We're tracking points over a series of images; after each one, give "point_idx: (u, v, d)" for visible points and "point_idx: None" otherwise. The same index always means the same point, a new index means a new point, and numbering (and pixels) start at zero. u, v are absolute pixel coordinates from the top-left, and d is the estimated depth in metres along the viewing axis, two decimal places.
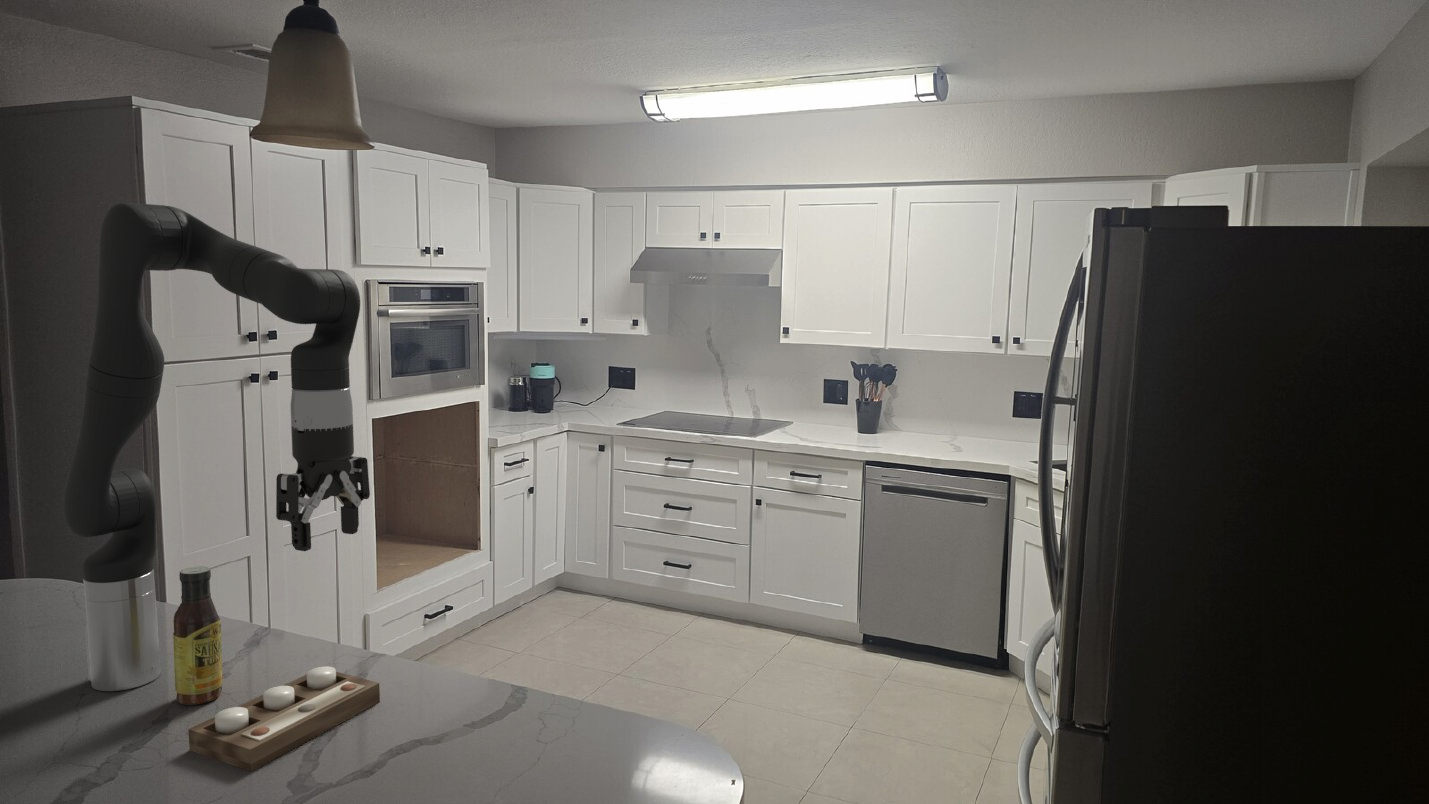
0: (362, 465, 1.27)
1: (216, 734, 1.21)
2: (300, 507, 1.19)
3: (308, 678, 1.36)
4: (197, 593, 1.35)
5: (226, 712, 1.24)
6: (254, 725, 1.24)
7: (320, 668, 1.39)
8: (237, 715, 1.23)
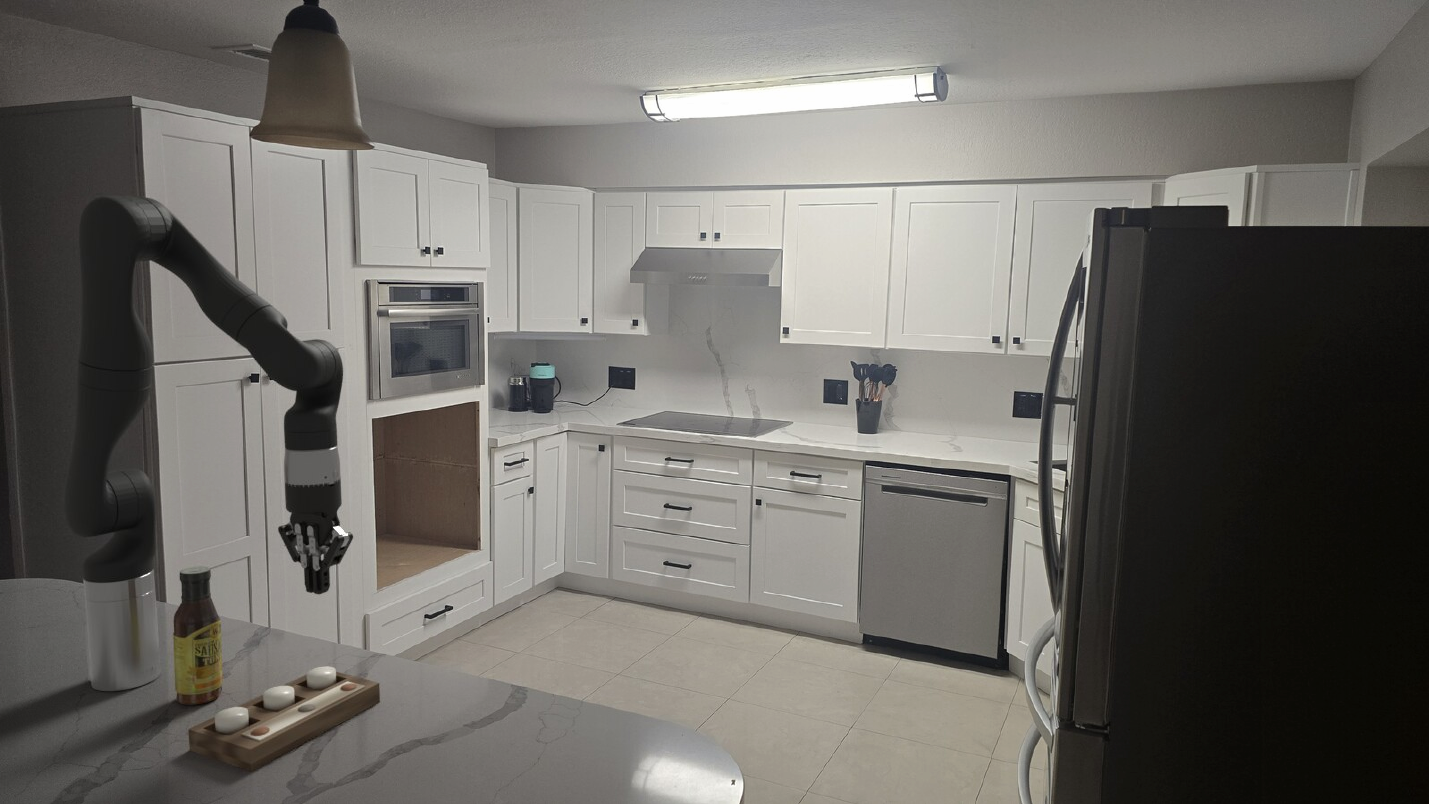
0: None
1: (216, 734, 1.21)
2: None
3: (308, 678, 1.36)
4: (197, 593, 1.35)
5: (226, 712, 1.24)
6: (254, 725, 1.24)
7: (320, 668, 1.39)
8: (237, 715, 1.23)
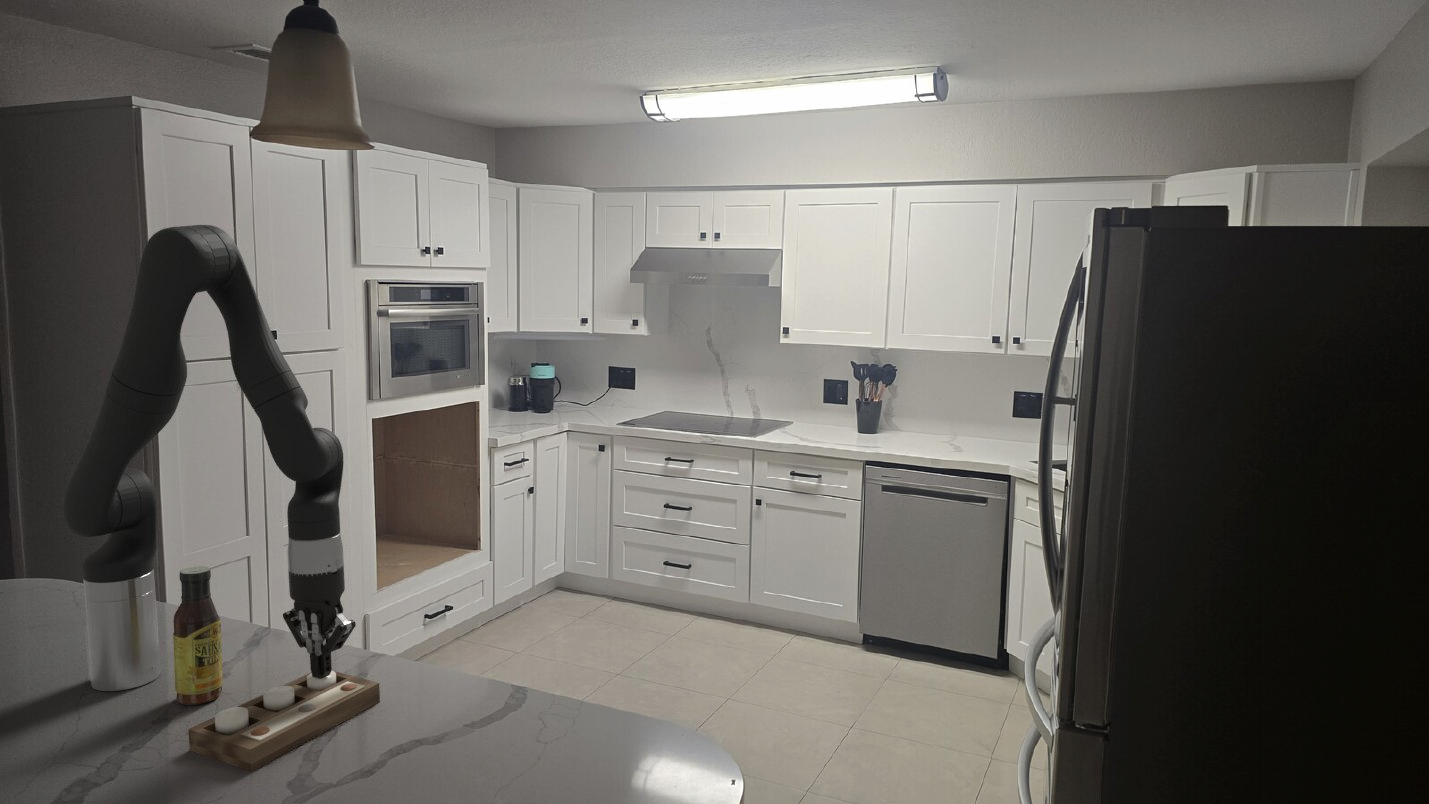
0: None
1: (216, 734, 1.21)
2: None
3: (308, 682, 1.36)
4: (197, 593, 1.35)
5: (226, 712, 1.24)
6: (254, 725, 1.24)
7: None
8: (237, 715, 1.23)
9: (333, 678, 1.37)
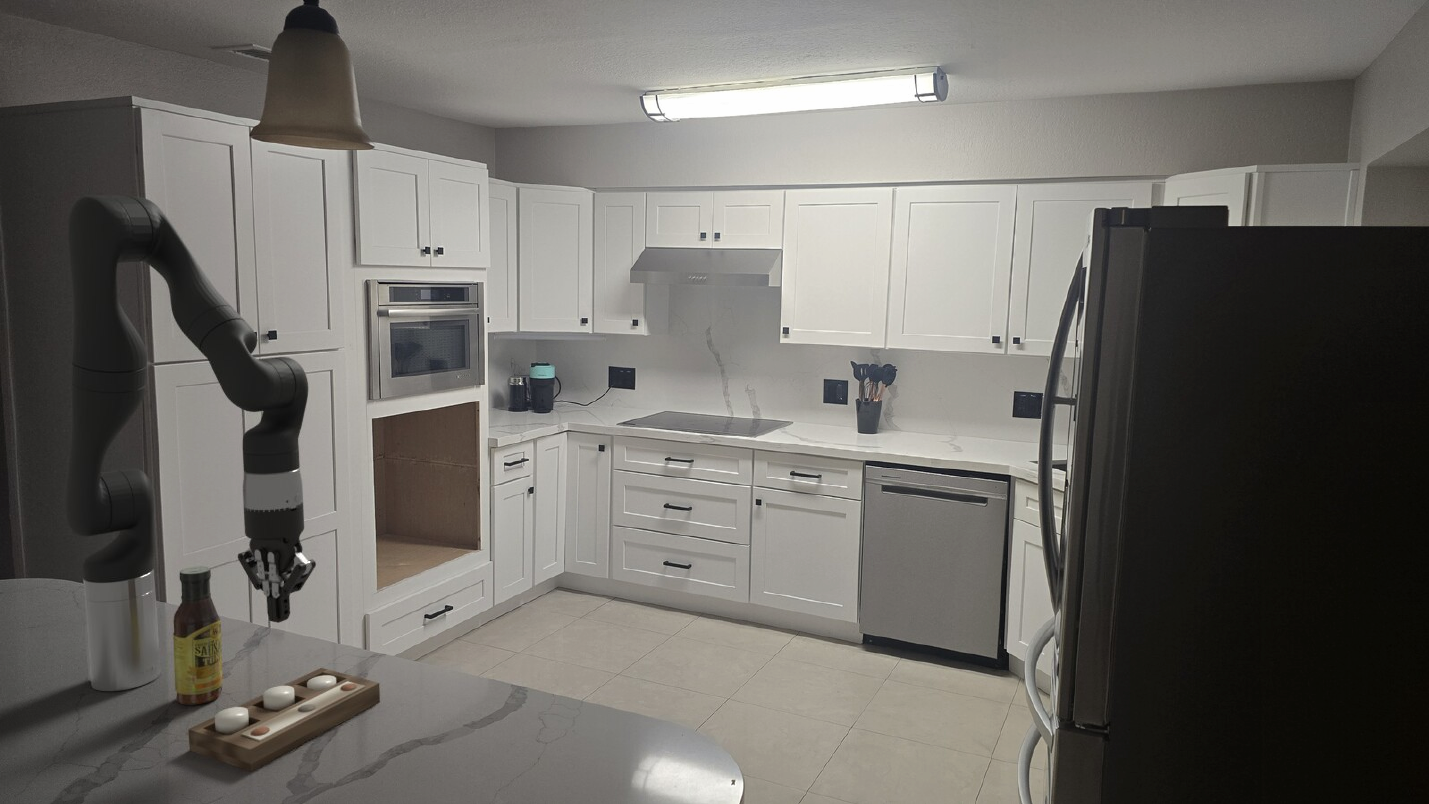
0: None
1: (216, 734, 1.21)
2: None
3: (308, 687, 1.36)
4: (197, 593, 1.35)
5: (226, 712, 1.24)
6: (254, 725, 1.24)
7: (320, 677, 1.39)
8: (237, 715, 1.23)
9: (333, 683, 1.37)
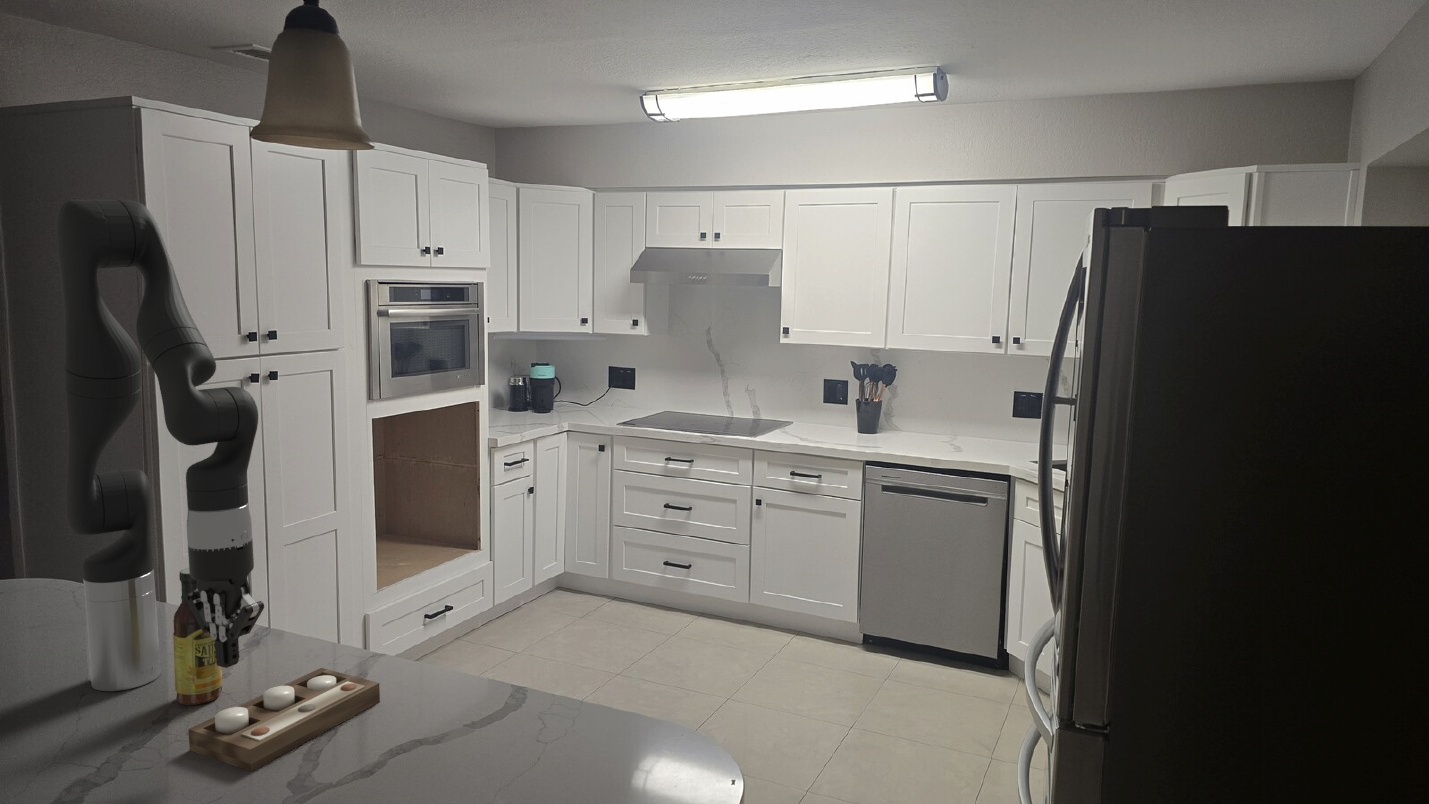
0: None
1: (216, 734, 1.21)
2: None
3: (308, 687, 1.36)
4: None
5: (226, 712, 1.24)
6: (254, 725, 1.24)
7: (320, 677, 1.39)
8: (237, 715, 1.23)
9: (333, 683, 1.37)
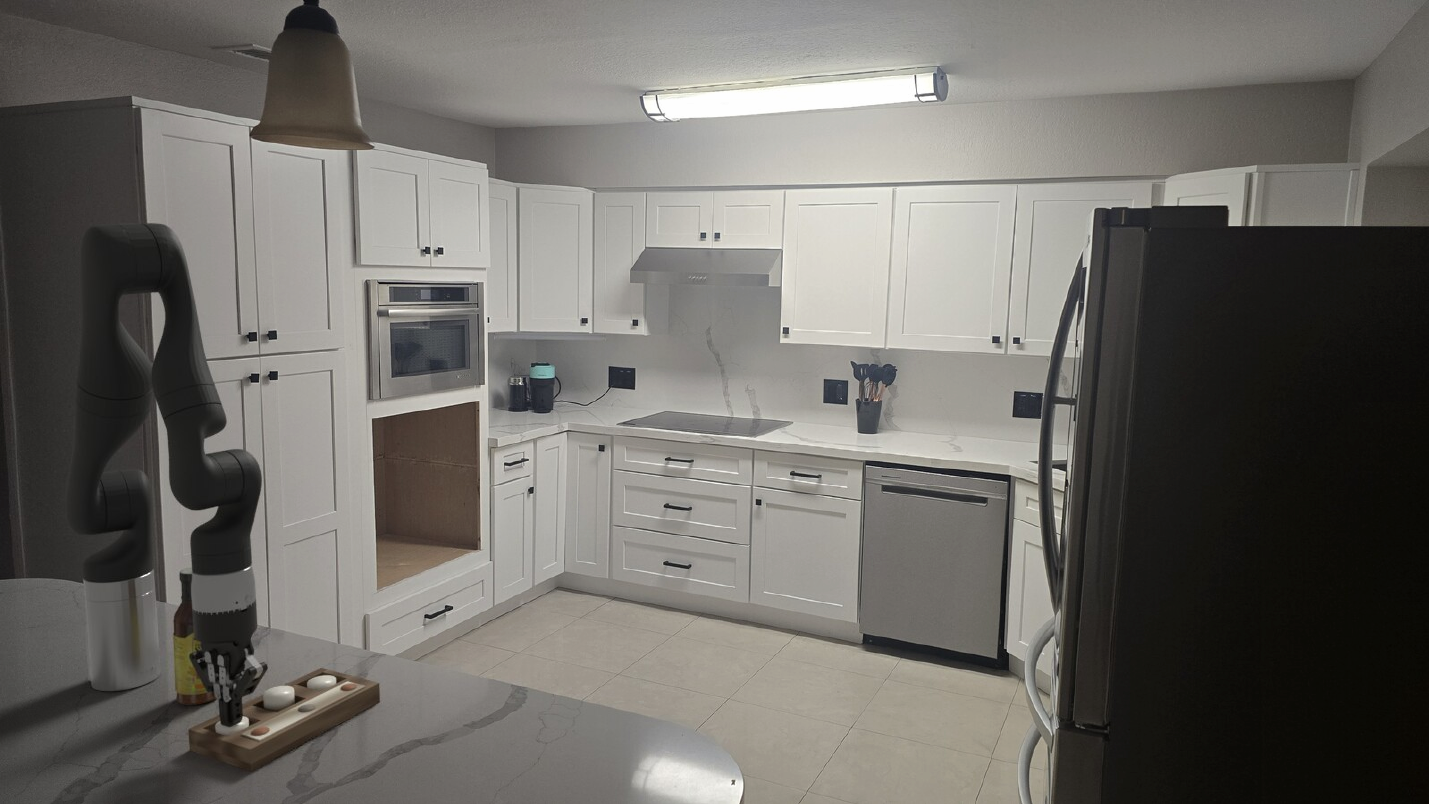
0: None
1: (216, 734, 1.21)
2: None
3: (308, 687, 1.36)
4: None
5: None
6: (254, 725, 1.24)
7: (320, 677, 1.39)
8: (237, 724, 1.24)
9: (333, 683, 1.37)
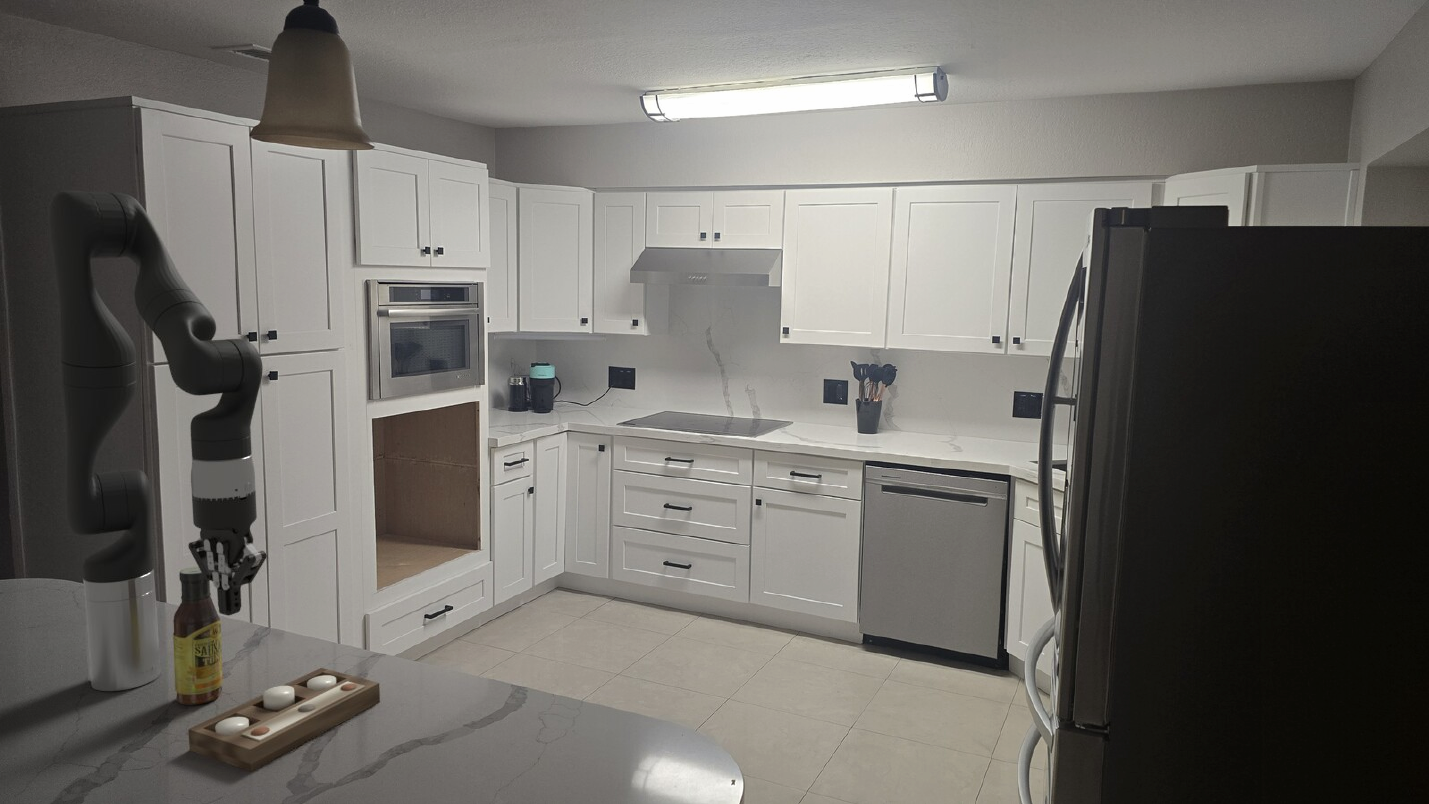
0: None
1: (216, 734, 1.21)
2: None
3: (308, 687, 1.36)
4: (197, 593, 1.35)
5: (227, 722, 1.24)
6: (254, 725, 1.24)
7: (320, 677, 1.39)
8: (237, 725, 1.24)
9: (333, 683, 1.37)
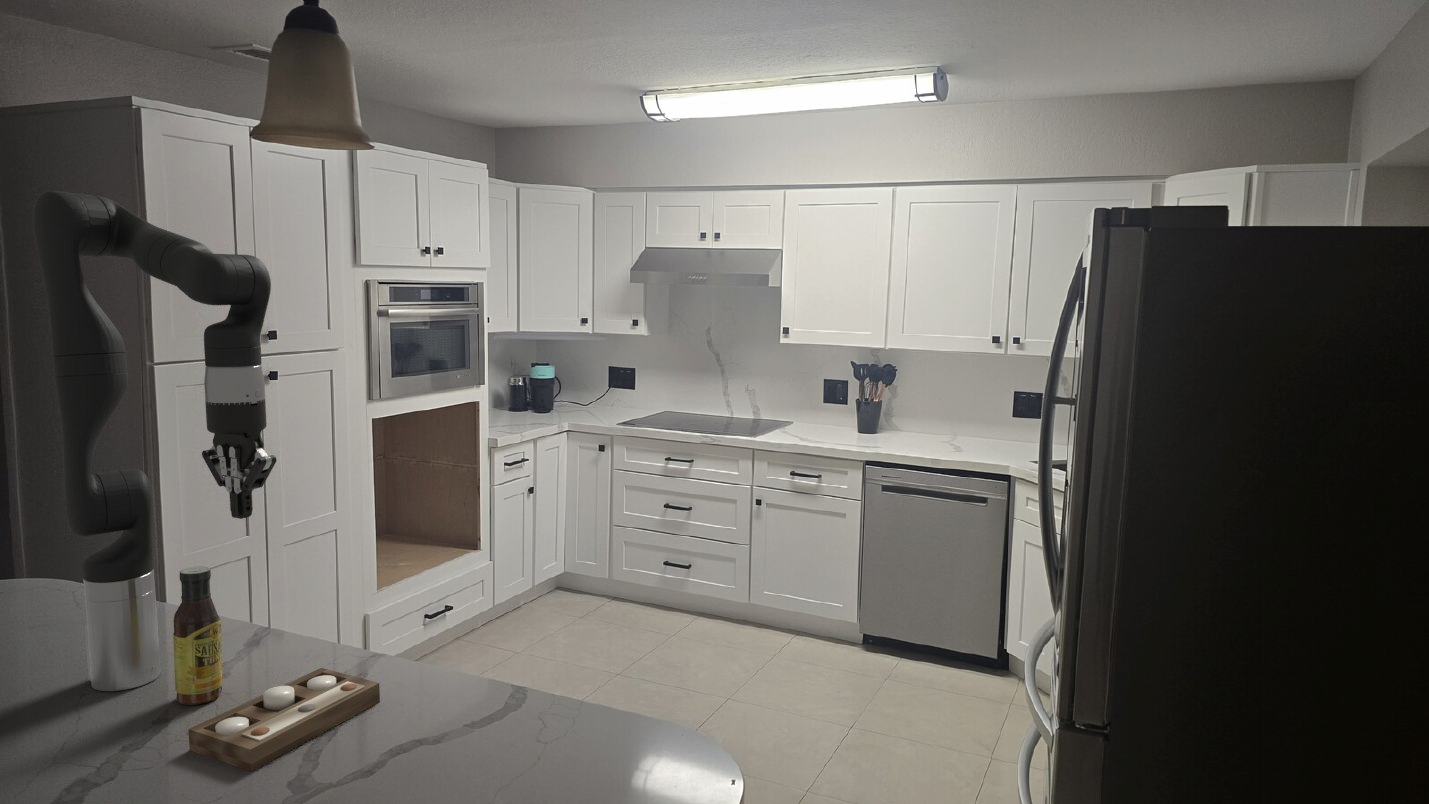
0: None
1: (216, 734, 1.21)
2: None
3: (308, 687, 1.36)
4: (197, 593, 1.35)
5: (227, 722, 1.24)
6: (254, 725, 1.24)
7: (320, 677, 1.39)
8: (237, 725, 1.24)
9: (333, 683, 1.37)
